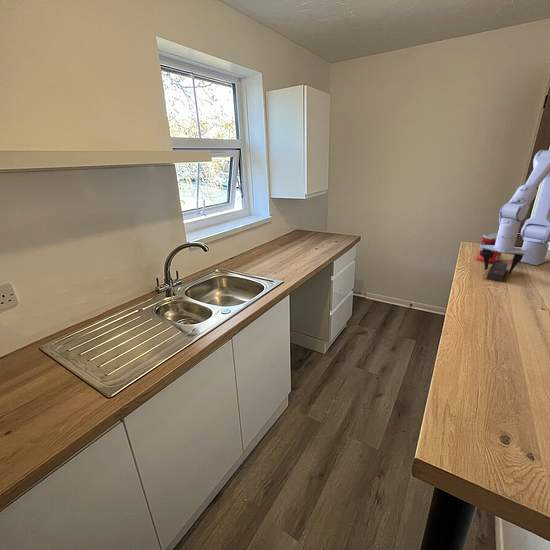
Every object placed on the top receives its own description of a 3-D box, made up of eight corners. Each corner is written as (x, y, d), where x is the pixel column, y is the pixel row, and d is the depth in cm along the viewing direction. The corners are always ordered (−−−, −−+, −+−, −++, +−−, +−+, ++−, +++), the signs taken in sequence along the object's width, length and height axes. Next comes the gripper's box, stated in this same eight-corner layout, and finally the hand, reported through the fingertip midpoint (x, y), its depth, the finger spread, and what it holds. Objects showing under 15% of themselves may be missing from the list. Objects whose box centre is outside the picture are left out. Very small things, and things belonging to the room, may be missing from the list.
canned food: (497, 258, 131) (503, 233, 126) (500, 264, 124) (507, 238, 120) (476, 256, 134) (481, 232, 129) (479, 262, 127) (484, 237, 123)
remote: (492, 267, 121) (494, 261, 120) (506, 270, 118) (508, 263, 117) (486, 279, 112) (488, 272, 111) (501, 281, 109) (503, 274, 108)
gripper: (481, 236, 111) (473, 270, 116) (531, 242, 102) (520, 278, 107) (484, 232, 116) (477, 264, 121) (532, 237, 107) (522, 272, 112)
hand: (497, 271), depth 115 cm, fingers open, 7 cm apart
